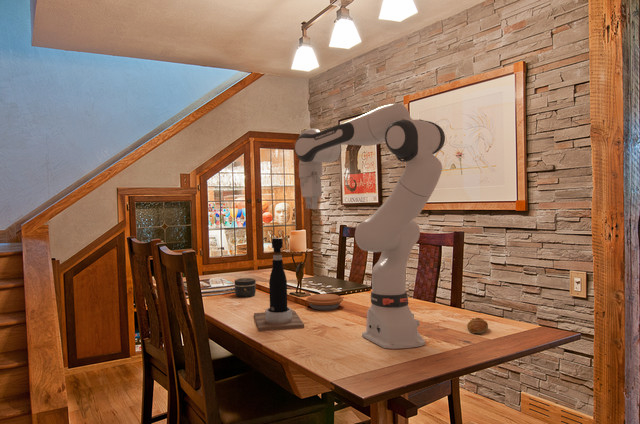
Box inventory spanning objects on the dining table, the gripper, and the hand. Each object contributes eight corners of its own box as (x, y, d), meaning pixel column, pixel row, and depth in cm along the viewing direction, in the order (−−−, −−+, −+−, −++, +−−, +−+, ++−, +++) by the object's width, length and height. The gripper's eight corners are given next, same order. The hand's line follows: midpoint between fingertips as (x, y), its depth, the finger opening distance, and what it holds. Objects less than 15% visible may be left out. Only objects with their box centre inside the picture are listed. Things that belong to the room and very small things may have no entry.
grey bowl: (293, 322, 173) (293, 311, 173) (266, 324, 171) (266, 313, 171) (289, 316, 182) (289, 305, 182) (264, 318, 180) (264, 307, 180)
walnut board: (304, 327, 171) (304, 324, 171) (258, 331, 167) (258, 327, 167) (294, 313, 192) (294, 310, 192) (253, 316, 189) (253, 313, 189)
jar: (235, 298, 223) (234, 282, 222) (234, 294, 232) (233, 278, 232) (257, 297, 225) (256, 280, 225) (254, 293, 235) (254, 277, 235)
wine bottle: (289, 318, 180) (287, 238, 179) (286, 322, 173) (284, 239, 172) (272, 318, 180) (270, 238, 179) (268, 322, 174) (266, 239, 173)
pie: (299, 310, 198) (299, 297, 198) (315, 302, 212) (315, 290, 212) (334, 313, 192) (334, 300, 192) (348, 304, 206) (348, 293, 206)
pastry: (487, 336, 157) (487, 324, 157) (466, 334, 160) (466, 323, 160) (488, 328, 166) (487, 317, 166) (467, 327, 168) (467, 316, 168)
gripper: (325, 170, 174) (326, 208, 174) (313, 173, 194) (314, 208, 194) (308, 170, 173) (309, 209, 173) (297, 174, 192) (298, 208, 193)
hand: (311, 208), depth 184 cm, fingers open, 8 cm apart
